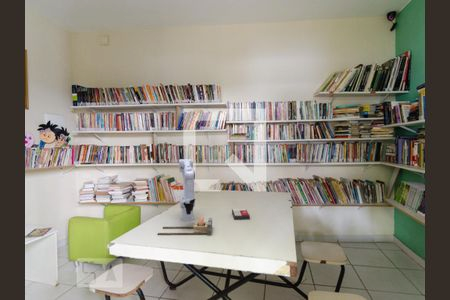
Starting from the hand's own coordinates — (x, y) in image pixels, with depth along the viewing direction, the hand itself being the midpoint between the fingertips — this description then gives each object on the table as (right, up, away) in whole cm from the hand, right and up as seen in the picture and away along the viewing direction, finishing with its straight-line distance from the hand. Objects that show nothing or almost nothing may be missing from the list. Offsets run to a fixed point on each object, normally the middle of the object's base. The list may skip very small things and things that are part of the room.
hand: (189, 212), depth 127 cm
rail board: (-1, -10, -7) cm, 12 cm away
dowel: (+8, -9, -7) cm, 14 cm away
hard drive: (+33, -11, +25) cm, 43 cm away
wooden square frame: (+8, -9, -7) cm, 14 cm away
